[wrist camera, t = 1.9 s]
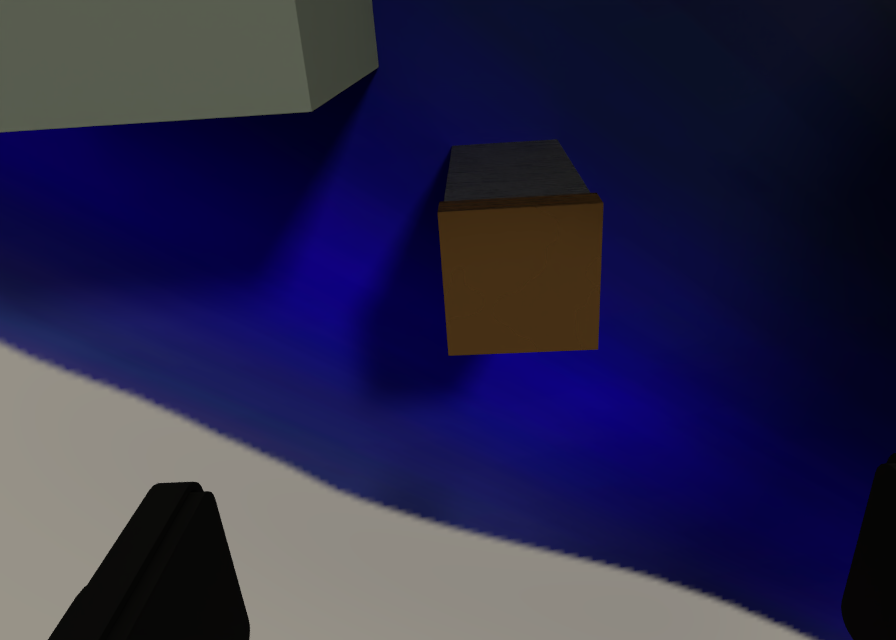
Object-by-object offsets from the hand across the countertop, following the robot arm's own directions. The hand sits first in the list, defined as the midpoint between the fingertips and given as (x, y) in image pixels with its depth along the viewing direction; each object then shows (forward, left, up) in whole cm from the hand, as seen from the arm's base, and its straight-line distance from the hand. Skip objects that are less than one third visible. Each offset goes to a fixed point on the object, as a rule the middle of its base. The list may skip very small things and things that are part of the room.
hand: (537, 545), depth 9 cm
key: (0, 0, -18) cm, 18 cm away
